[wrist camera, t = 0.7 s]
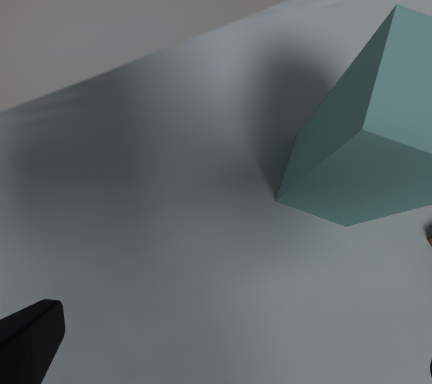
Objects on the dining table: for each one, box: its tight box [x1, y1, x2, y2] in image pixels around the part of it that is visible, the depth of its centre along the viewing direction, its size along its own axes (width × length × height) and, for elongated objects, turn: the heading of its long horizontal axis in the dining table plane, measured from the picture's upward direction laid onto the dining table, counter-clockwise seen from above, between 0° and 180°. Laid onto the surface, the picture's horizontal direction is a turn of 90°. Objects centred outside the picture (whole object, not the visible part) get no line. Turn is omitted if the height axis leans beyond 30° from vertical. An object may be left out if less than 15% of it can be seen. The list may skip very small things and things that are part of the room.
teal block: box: [276, 5, 432, 227], centre depth 17 cm, size 5×5×12 cm
